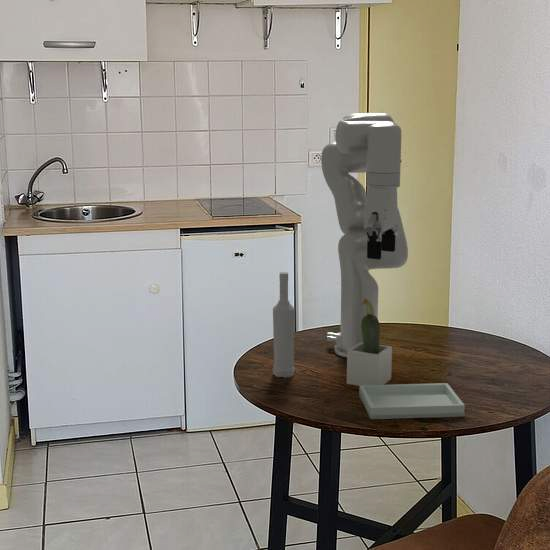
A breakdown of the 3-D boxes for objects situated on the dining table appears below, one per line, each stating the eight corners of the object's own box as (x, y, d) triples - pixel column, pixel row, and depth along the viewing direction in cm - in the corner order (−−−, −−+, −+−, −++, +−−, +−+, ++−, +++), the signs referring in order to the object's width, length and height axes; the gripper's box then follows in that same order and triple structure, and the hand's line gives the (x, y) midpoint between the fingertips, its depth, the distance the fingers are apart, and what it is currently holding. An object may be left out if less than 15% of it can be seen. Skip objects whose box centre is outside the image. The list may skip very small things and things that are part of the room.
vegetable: (380, 379, 215) (382, 297, 211) (376, 385, 211) (378, 301, 207) (362, 377, 217) (363, 295, 212) (357, 383, 213) (359, 300, 208)
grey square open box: (346, 383, 212) (347, 350, 211) (359, 373, 219) (360, 341, 218) (378, 389, 209) (379, 355, 207) (391, 378, 216) (392, 346, 214)
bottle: (268, 374, 219) (268, 273, 213) (283, 369, 222) (283, 269, 217) (284, 379, 215) (284, 276, 210) (298, 374, 219) (299, 272, 214)
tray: (370, 419, 191) (370, 407, 190) (359, 396, 204) (359, 385, 204) (464, 416, 192) (464, 405, 192) (446, 393, 206) (447, 383, 205)
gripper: (379, 175, 213) (378, 247, 217) (353, 183, 198) (352, 260, 202) (410, 176, 210) (408, 249, 214) (386, 185, 195) (384, 263, 198)
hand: (381, 254), depth 208 cm, fingers open, 9 cm apart
